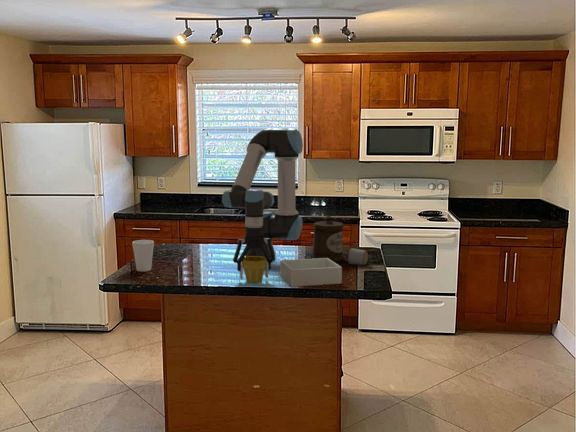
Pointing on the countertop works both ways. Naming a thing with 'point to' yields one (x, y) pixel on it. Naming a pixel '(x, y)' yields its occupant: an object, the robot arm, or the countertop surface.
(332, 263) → the crate
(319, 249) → the wooden container
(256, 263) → the plant pot
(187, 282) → the countertop surface
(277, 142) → the robot arm
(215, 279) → the countertop surface
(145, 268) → the foam cup
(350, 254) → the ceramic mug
